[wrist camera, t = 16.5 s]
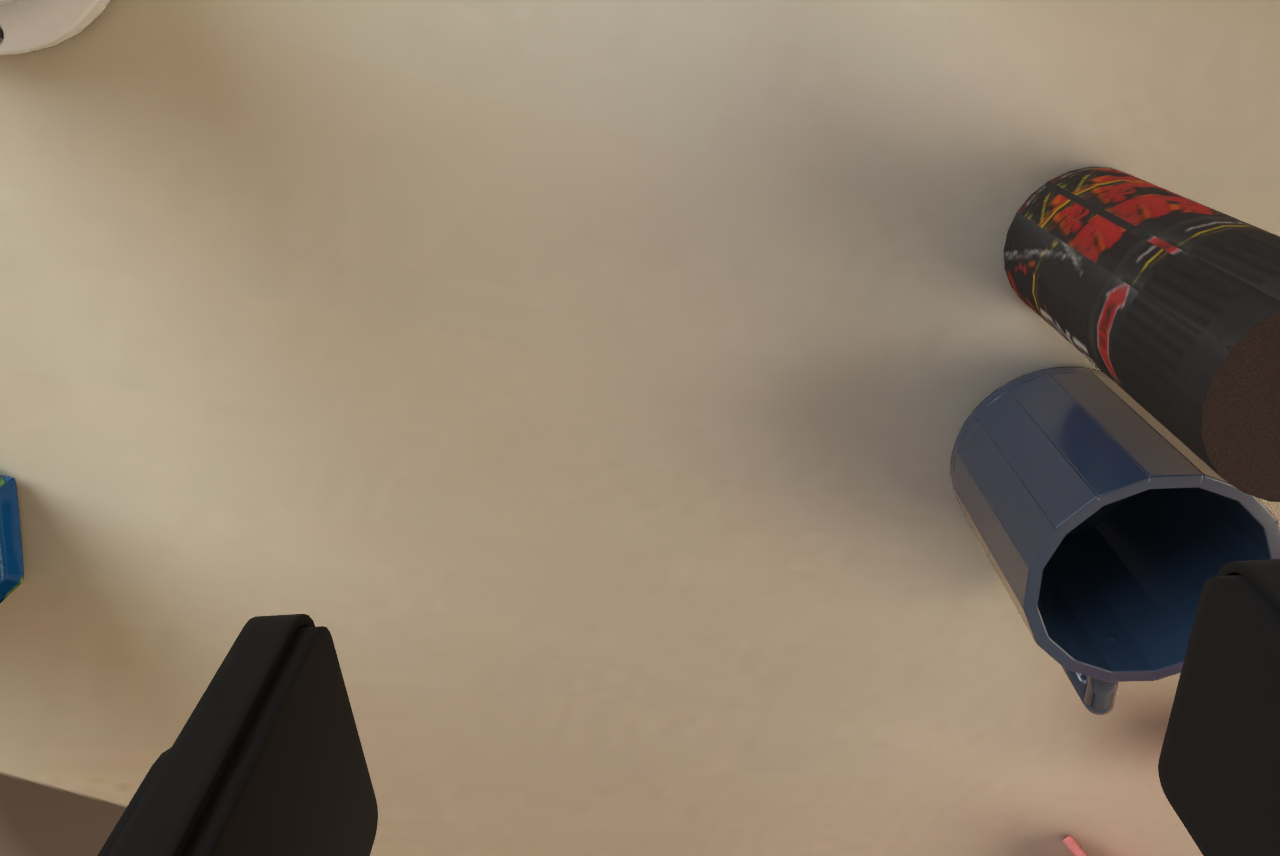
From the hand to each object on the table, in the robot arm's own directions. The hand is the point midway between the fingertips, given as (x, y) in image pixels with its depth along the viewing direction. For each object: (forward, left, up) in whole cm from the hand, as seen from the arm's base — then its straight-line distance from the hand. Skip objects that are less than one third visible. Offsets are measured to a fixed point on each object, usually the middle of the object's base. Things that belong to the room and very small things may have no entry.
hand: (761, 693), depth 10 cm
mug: (+14, +15, -28) cm, 35 cm away
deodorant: (+3, +15, -29) cm, 32 cm away
